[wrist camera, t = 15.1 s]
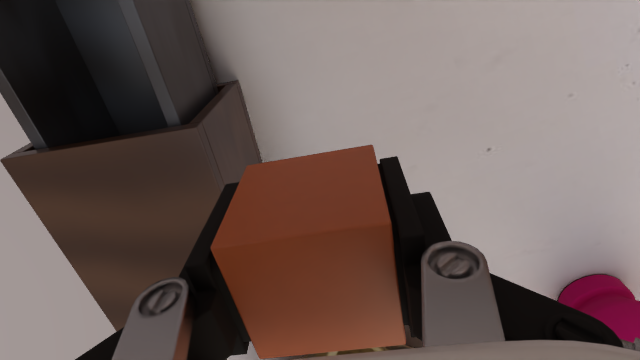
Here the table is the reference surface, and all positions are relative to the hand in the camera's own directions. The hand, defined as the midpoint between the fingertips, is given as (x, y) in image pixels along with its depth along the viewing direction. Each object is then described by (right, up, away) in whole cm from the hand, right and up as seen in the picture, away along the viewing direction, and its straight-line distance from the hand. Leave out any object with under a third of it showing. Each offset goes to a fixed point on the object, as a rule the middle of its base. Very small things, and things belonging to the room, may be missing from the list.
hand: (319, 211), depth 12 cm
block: (0, 0, 0) cm, 0 cm away
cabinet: (-10, +1, +19) cm, 22 cm away
